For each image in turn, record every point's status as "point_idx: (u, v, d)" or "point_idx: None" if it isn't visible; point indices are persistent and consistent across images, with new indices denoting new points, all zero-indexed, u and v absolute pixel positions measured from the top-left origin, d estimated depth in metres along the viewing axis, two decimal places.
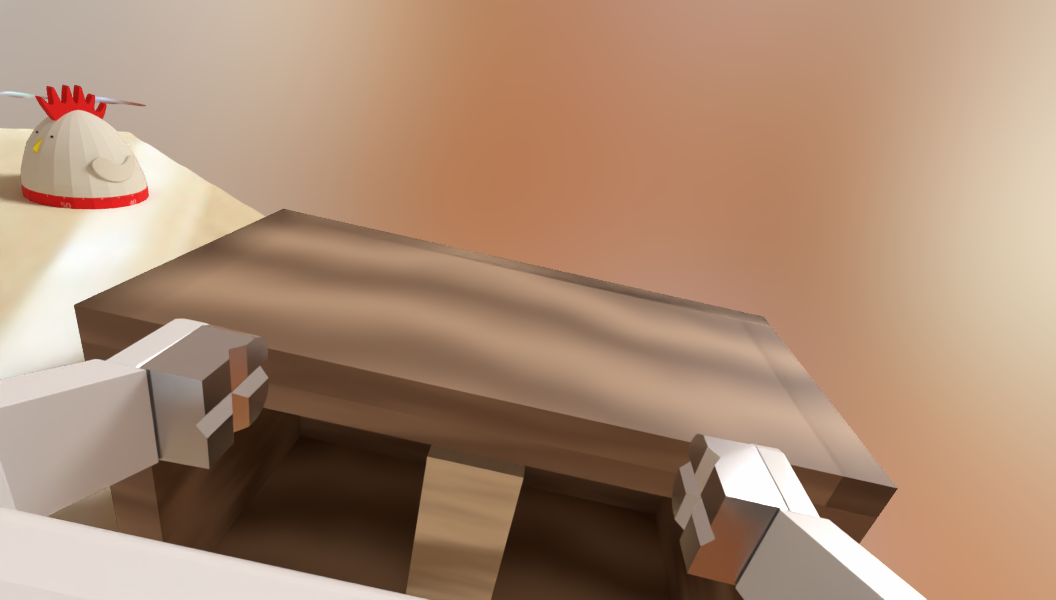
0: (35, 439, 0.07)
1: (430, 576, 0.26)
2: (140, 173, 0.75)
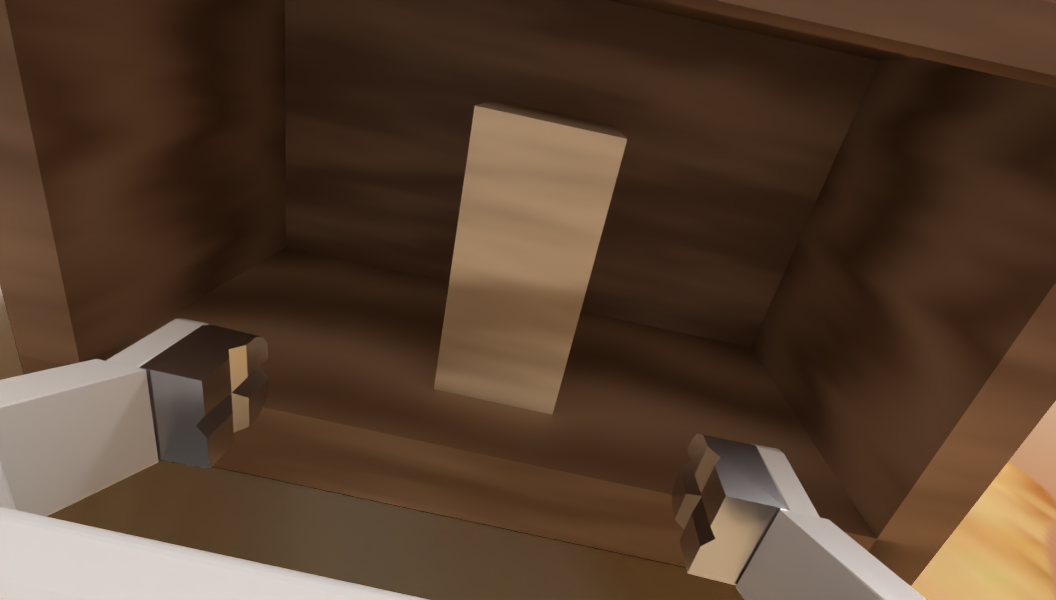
0: (35, 439, 0.07)
1: (471, 349, 0.18)
2: None
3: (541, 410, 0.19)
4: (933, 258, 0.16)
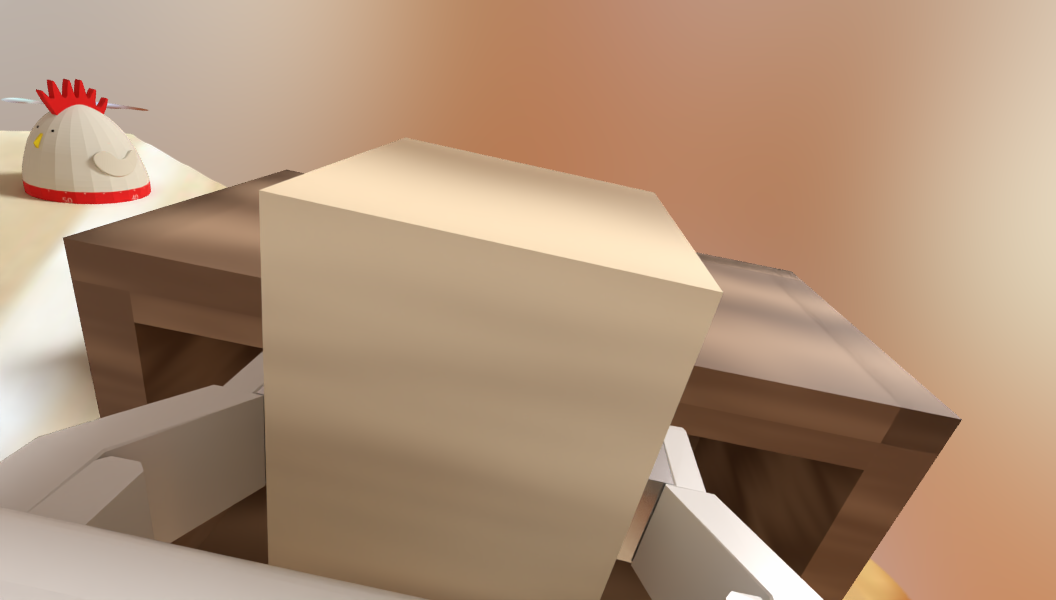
0: (167, 468, 0.07)
1: None
2: (142, 168, 0.74)
3: None
4: (770, 491, 0.23)
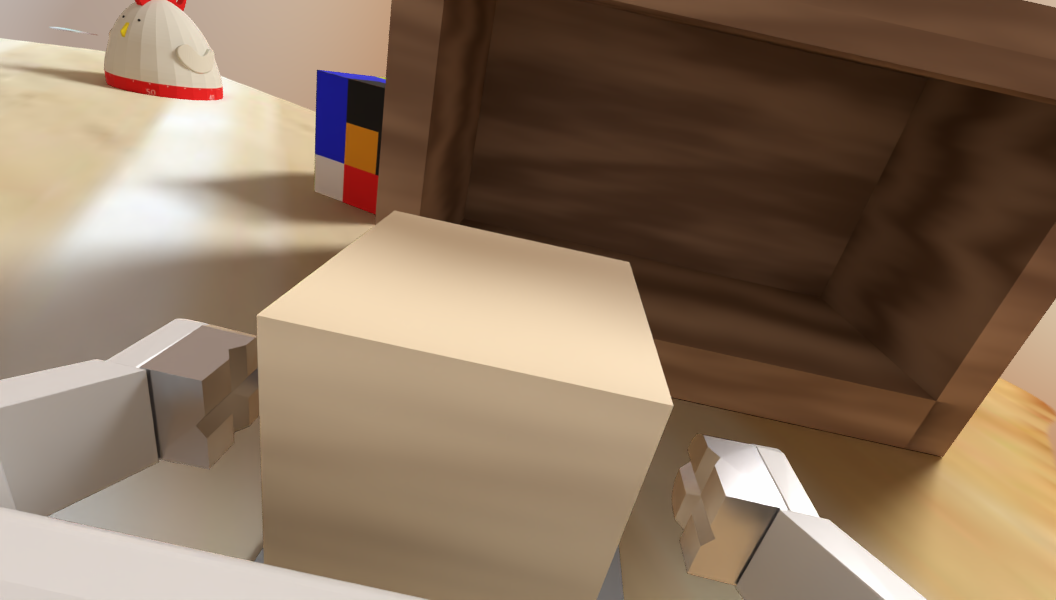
0: (35, 439, 0.07)
1: None
2: (217, 70, 0.74)
3: None
4: (974, 215, 0.24)
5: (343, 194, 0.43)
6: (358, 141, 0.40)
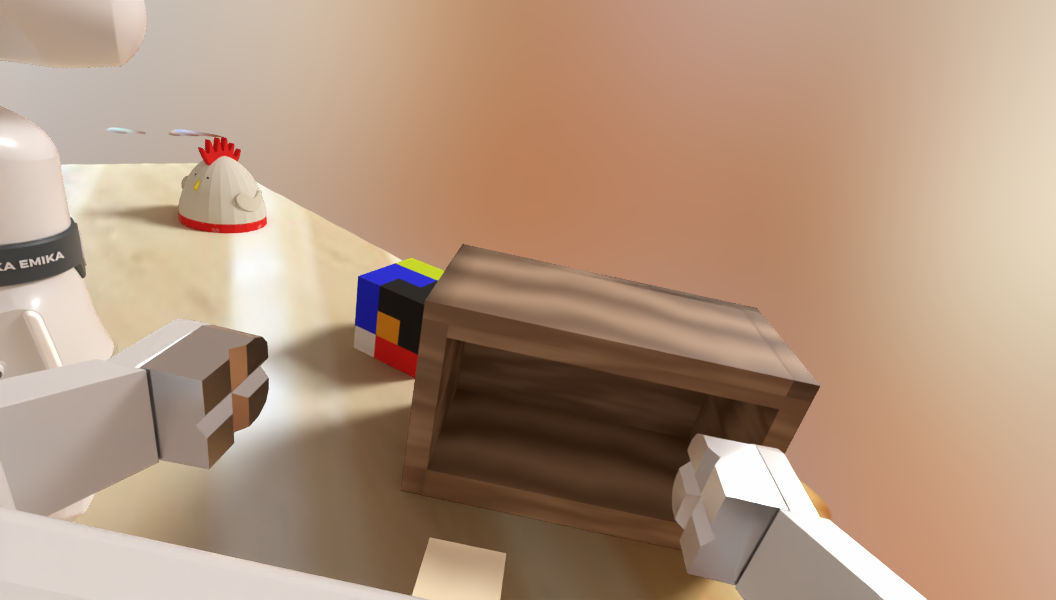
0: (35, 439, 0.07)
1: None
2: (263, 203, 0.94)
3: None
4: (739, 428, 0.44)
5: (374, 353, 0.62)
6: (385, 323, 0.60)
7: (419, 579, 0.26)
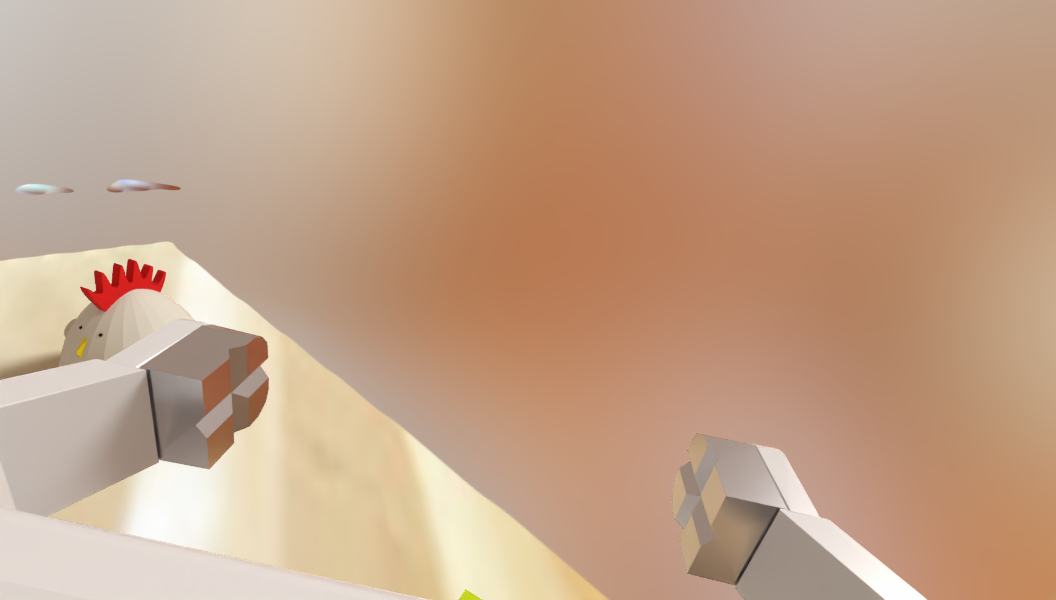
0: (35, 439, 0.07)
1: None
2: None
3: None
4: None
5: None
6: None
7: None
